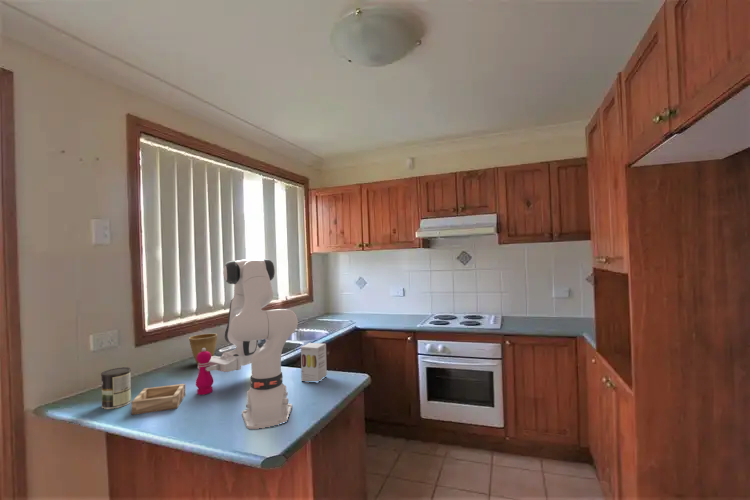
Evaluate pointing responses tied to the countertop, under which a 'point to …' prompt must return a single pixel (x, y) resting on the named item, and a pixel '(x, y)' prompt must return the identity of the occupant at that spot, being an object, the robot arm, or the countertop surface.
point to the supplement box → (313, 362)
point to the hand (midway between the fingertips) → (202, 368)
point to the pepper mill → (204, 373)
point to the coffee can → (116, 388)
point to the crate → (158, 399)
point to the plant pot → (203, 344)
